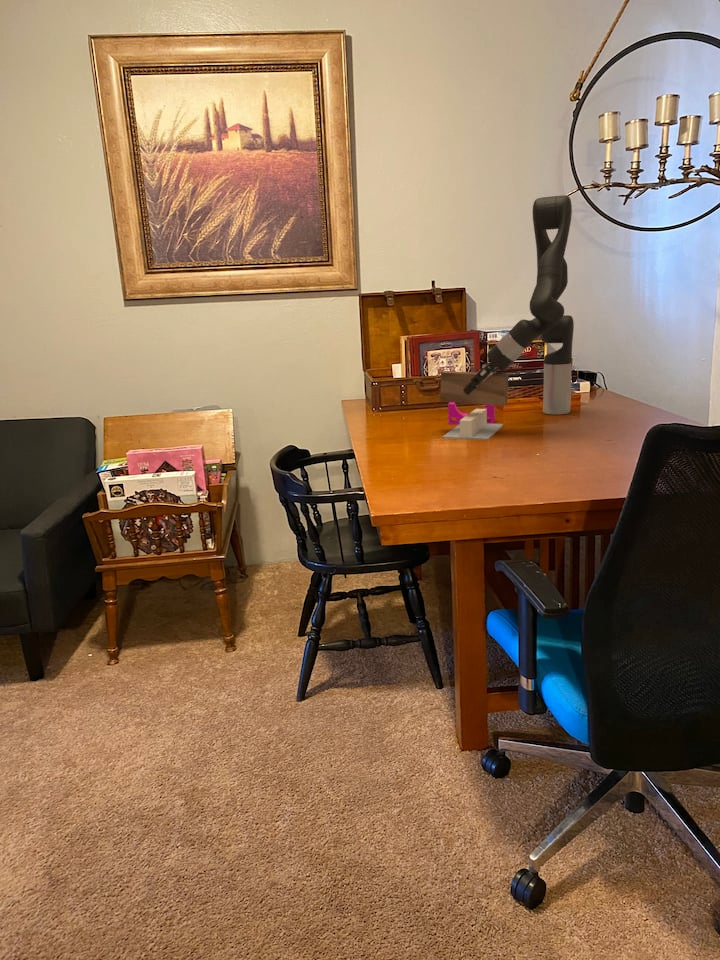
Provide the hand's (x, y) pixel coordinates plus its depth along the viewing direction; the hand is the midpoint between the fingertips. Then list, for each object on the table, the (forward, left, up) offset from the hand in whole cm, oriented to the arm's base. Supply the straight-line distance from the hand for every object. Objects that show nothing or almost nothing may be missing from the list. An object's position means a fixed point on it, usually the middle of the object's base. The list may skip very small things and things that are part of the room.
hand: (467, 391), depth 214 cm
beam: (0, +2, -3) cm, 4 cm away
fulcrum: (0, +2, -13) cm, 13 cm away
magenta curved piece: (-15, -3, -14) cm, 20 cm away
